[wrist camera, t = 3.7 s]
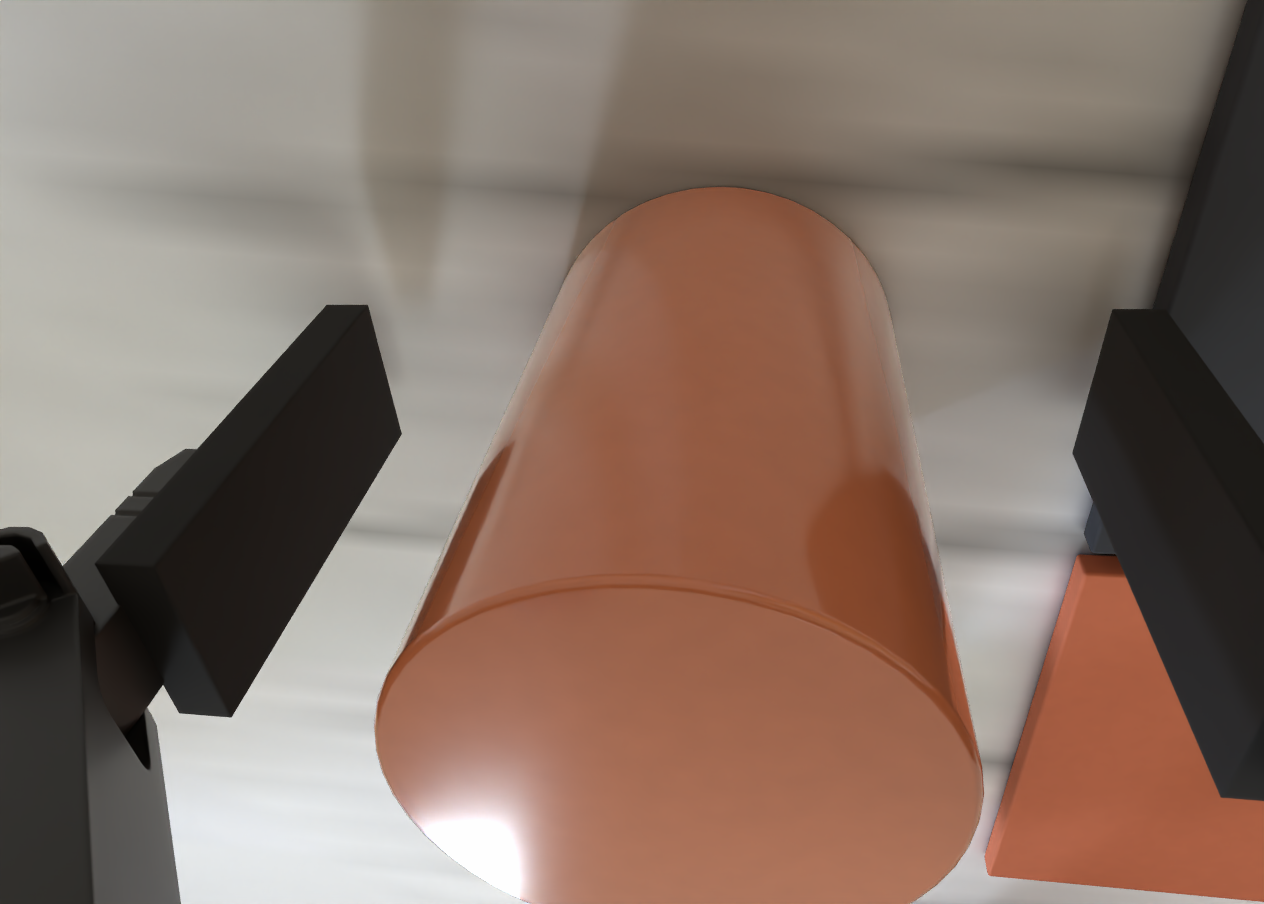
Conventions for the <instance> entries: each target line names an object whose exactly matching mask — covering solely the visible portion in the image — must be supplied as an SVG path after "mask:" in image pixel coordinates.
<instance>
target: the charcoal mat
mask: <svg viewBox="0 0 1264 904" xmlns="http://www.w3.org/2000/svg"><path fill="white" fill-rule="evenodd" d="M1153 309H1166V310H1167V312H1168V313H1169V315H1170V316H1171V317H1172V319H1173V320H1174V321H1175V323H1176V324H1177V326H1178V327H1179V328H1180V330H1181V331H1182V332H1183V334H1184V335H1185V336H1186V338H1187V339H1188V341H1189V342H1190V343H1191V345H1192V346H1193V347H1194V349H1195V350H1196V352H1197V353H1198V354H1199V356H1200V357H1201V358H1202V360H1203V361H1204V362H1205V364H1206V365H1207V367H1208V368H1209V369H1210V371H1211V372H1212V373H1213V375H1214V376H1215V378H1216V379H1217V380H1218V382H1219V383H1220V384H1221V386H1222V387H1223V389H1224V390H1225V391H1226V393H1227V394H1228V395H1229V397H1230V398H1231V399H1232V401H1233V402H1234V404H1235V405H1236V406H1237V408H1238V409H1239V410H1240V412H1241V413H1242V415H1243V416H1244V417H1245V419H1246V420H1247V421H1248V423H1249V424H1250V425H1251V427H1252V428H1253V430H1254V431H1255V432H1256V434H1257V435H1258V436H1259V438H1260V439H1261V441H1262V442H1263V443H1264V0H1248V1H1247V4H1246V7H1245V10H1244V14H1243V17H1242V20H1241V24H1240V27H1239V30H1238V33H1237V37H1236V40H1235V43H1234V46H1233V50H1232V53H1231V56H1230V59H1229V63H1228V66H1227V69H1226V72H1225V76H1224V79H1223V82H1222V85H1221V89H1220V92H1219V95H1218V98H1217V102H1216V105H1215V108H1214V111H1213V115H1212V118H1211V121H1210V124H1209V128H1208V131H1207V134H1206V137H1205V141H1204V144H1203V147H1202V150H1201V154H1200V157H1199V160H1198V163H1197V167H1196V170H1195V173H1194V176H1193V180H1192V183H1191V186H1190V189H1189V193H1188V196H1187V199H1186V202H1185V206H1184V209H1183V212H1182V216H1181V219H1180V222H1179V225H1178V229H1177V232H1176V235H1175V238H1174V242H1173V245H1172V248H1171V251H1170V255H1169V258H1168V261H1167V264H1166V268H1165V271H1164V274H1163V277H1162V281H1161V284H1160V287H1159V290H1158V294H1157V297H1156V300H1155V303H1154V307H1153ZM1084 535H1085V538H1086V540H1087V543H1088V545H1089V548H1090V550H1091V552H1093V553H1103V554H1116V553H1115V551H1114V548H1113V546H1112V544H1111V541H1110V539H1109V537H1108V534H1107V532H1106V530H1105V528H1104V525H1103V523H1102V521H1101V518H1100V516H1099V514H1098V511H1097V509H1096V507H1095V504H1094V502H1093V505H1092V508H1091V512H1090V515H1089V518H1088V521H1087V525H1086V528H1085V531H1084Z"/></svg>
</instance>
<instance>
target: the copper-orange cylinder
mask: <svg viewBox="0 0 1264 904" xmlns="http://www.w3.org/2000/svg"><path fill="white" fill-rule="evenodd" d="M374 728H375V742H376V752H377V755H378V759H379V762H380V766H381V769H382V773H383V775H384V777H385V779H386V781H387V783H388V785H389V787H390V789H391V792H392V794H393V795H394V797H395V798H396V800H397V801H398V803H399V804H400V806H401V807H402V809H403V810H404V811H405V813H406V814H407V816H408V817H409V818H410V819H411V820H412V821H413V823H414V824H415V825H416V826H417V827H418V828H419V829H420V830H421V831H422V833H423V834H424V835H425V836H426V837H427V838H428V839H430V840H431V841H432V842H433V843H434V844H435V845H436V846H437V847H438V848H440V849H441V850H442V851H443V852H444V853H445V854H446V855H448V856H449V857H451V858H452V859H453V860H455V861H456V862H457V863H459V864H460V865H461V866H463V867H464V868H465V869H467V870H468V871H470V872H471V873H473V874H475V875H476V876H478V877H480V878H481V879H483V880H484V881H486V882H488V883H489V884H491V885H493V886H494V887H496V888H498V889H500V890H502V891H504V892H506V893H508V894H510V895H512V896H514V897H516V898H518V899H520V900H522V901H524V902H527V903H529V904H910V903H912V902H914V901H916V900H917V899H918V898H920V897H921V896H922V895H924V894H925V893H927V892H928V891H929V890H931V889H932V888H933V887H935V886H936V885H937V884H938V883H939V882H940V881H941V880H942V879H943V878H944V877H945V876H946V875H947V874H948V873H949V872H950V871H951V870H952V869H953V868H954V867H955V866H956V865H957V863H958V862H959V860H960V859H961V857H962V856H963V854H964V853H965V852H966V850H967V849H968V847H969V845H970V843H971V840H972V838H973V836H974V833H975V831H976V828H977V826H978V823H979V820H980V815H981V809H982V803H983V797H984V787H983V773H982V765H981V760H980V755H979V750H978V745H977V740H976V735H975V730H974V725H973V720H972V715H971V710H970V705H969V700H968V696H967V691H966V686H965V681H964V676H963V671H962V666H961V661H960V656H959V651H958V646H957V641H956V636H955V631H954V626H953V621H952V616H951V611H950V606H949V601H948V597H947V592H946V587H945V582H944V577H943V572H942V567H941V562H940V557H939V552H938V547H937V542H936V537H935V532H934V527H933V522H932V517H931V512H930V507H929V502H928V498H927V493H926V488H925V483H924V478H923V473H922V468H921V463H920V458H919V453H918V448H917V443H916V438H915V433H914V428H913V423H912V418H911V413H910V408H909V404H908V399H907V394H906V389H905V384H904V379H903V374H902V369H901V364H900V359H899V354H898V349H897V344H896V339H895V334H894V329H893V324H892V319H891V314H890V310H889V307H888V303H887V299H886V296H885V293H884V290H883V288H882V286H881V284H880V281H879V279H878V277H877V275H876V273H875V271H874V270H873V268H872V267H871V265H870V263H869V262H868V260H867V259H866V257H865V256H864V254H863V253H862V252H861V251H860V250H859V249H858V248H857V246H856V245H855V244H854V243H853V242H852V241H851V239H850V238H849V237H847V236H846V235H845V234H844V233H843V232H842V231H840V230H839V229H838V228H837V227H836V226H835V225H833V224H832V223H831V222H829V221H828V220H826V219H825V218H823V217H822V216H820V215H819V214H817V213H815V212H814V211H812V210H810V209H808V208H806V207H804V206H802V205H800V204H798V203H796V202H793V201H791V200H789V199H786V198H783V197H779V196H776V195H773V194H770V193H767V192H762V191H756V190H750V189H745V188H732V187H708V188H695V189H689V190H684V191H679V192H675V193H670V194H667V195H664V196H661V197H658V198H655V199H652V200H650V201H647V202H645V203H643V204H641V205H639V206H637V207H635V208H633V209H631V210H629V211H627V212H625V213H624V214H622V215H621V216H620V217H618V218H617V219H615V220H614V221H612V222H611V223H609V224H608V225H607V226H606V227H605V228H604V229H602V230H601V231H600V232H599V233H598V234H597V235H596V236H595V237H594V238H593V239H592V240H591V241H590V242H589V243H588V244H587V246H586V247H585V248H584V249H583V251H582V252H581V253H580V254H579V256H578V257H577V259H576V260H575V262H574V264H573V266H572V267H571V269H570V271H569V272H568V274H567V276H566V278H565V281H564V283H563V285H562V287H561V289H560V292H559V294H558V296H557V298H556V300H555V303H554V305H553V307H552V309H551V312H550V314H549V316H548V318H547V320H546V323H545V325H544V327H543V329H542V331H541V334H540V336H539V338H538V340H537V343H536V345H535V347H534V349H533V351H532V354H531V356H530V358H529V360H528V362H527V365H526V367H525V369H524V371H523V374H522V376H521V378H520V380H519V382H518V385H517V387H516V389H515V391H514V393H513V396H512V398H511V400H510V402H509V405H508V407H507V409H506V411H505V413H504V416H503V418H502V420H501V422H500V424H499V427H498V429H497V431H496V433H495V436H494V438H493V440H492V442H491V444H490V447H489V449H488V451H487V453H486V455H485V458H484V460H483V462H482V464H481V467H480V469H479V471H478V473H477V475H476V478H475V480H474V482H473V484H472V486H471V489H470V491H469V493H468V495H467V498H466V500H465V502H464V504H463V506H462V509H461V511H460V513H459V515H458V517H457V520H456V522H455V524H454V526H453V529H452V531H451V533H450V535H449V537H448V540H447V542H446V544H445V546H444V548H443V551H442V553H441V555H440V557H439V560H438V562H437V564H436V566H435V568H434V571H433V573H432V575H431V577H430V579H429V582H428V584H427V586H426V588H425V591H424V593H423V595H422V597H421V599H420V602H419V604H418V606H417V608H416V610H415V613H414V615H413V617H412V619H411V622H410V624H409V626H408V628H407V630H406V633H405V635H404V637H403V639H402V641H401V644H400V646H399V648H398V650H397V653H396V655H395V657H394V659H393V661H392V664H391V666H390V668H389V670H388V672H387V675H386V677H385V680H384V682H383V685H382V688H381V690H380V693H379V695H378V698H377V705H376V712H375V719H374Z"/></svg>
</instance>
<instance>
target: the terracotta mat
mask: <svg viewBox="0 0 1264 904" xmlns="http://www.w3.org/2000/svg"><path fill="white" fill-rule="evenodd" d="M985 861H986V867H987V872H988V875H989V876H996V877H1007V878H1018V879H1028V880H1039V881H1049V882H1060V883H1070V884H1081V885H1092V886H1102V887H1113V888H1123V889H1134V890H1145V891H1155V892H1166V893H1176V894H1187V895H1198V896H1208V897H1219V898H1229V899H1240V900H1251V901H1261V902H1264V801H1257V800H1244V799H1232V798H1221V797H1220V795H1219V792H1218V790H1217V788H1216V785H1215V783H1214V781H1213V778H1212V776H1211V774H1210V771H1209V769H1208V767H1207V764H1206V762H1205V760H1204V757H1203V755H1202V753H1201V750H1200V748H1199V746H1198V744H1197V741H1196V739H1195V737H1194V734H1193V732H1192V730H1191V727H1190V725H1189V723H1188V720H1187V718H1186V716H1185V713H1184V711H1183V709H1182V706H1181V704H1180V702H1179V699H1178V697H1177V695H1176V692H1175V690H1174V688H1173V685H1172V683H1171V681H1170V678H1169V676H1168V674H1167V672H1166V669H1165V667H1164V665H1163V662H1162V660H1161V658H1160V655H1159V653H1158V651H1157V648H1156V646H1155V644H1154V641H1153V639H1152V637H1151V634H1150V632H1149V630H1148V627H1147V625H1146V623H1145V620H1144V618H1143V616H1142V613H1141V611H1140V609H1139V606H1138V604H1137V602H1136V600H1135V597H1134V595H1133V593H1132V590H1131V588H1130V586H1129V583H1128V581H1127V579H1126V576H1125V574H1124V572H1123V569H1122V567H1121V565H1120V562H1119V560H1118V558H1117V556H1105V555H1081V554H1080V555H1078V556H1077V557H1076V560H1075V564H1074V567H1073V570H1072V573H1071V577H1070V580H1069V583H1068V587H1067V590H1066V593H1065V596H1064V600H1063V603H1062V606H1061V609H1060V613H1059V616H1058V619H1057V622H1056V626H1055V629H1054V632H1053V635H1052V639H1051V642H1050V645H1049V648H1048V652H1047V655H1046V658H1045V661H1044V665H1043V668H1042V671H1041V674H1040V678H1039V681H1038V684H1037V687H1036V691H1035V694H1034V697H1033V700H1032V704H1031V707H1030V710H1029V713H1028V717H1027V720H1026V723H1025V726H1024V730H1023V733H1022V736H1021V739H1020V743H1019V746H1018V749H1017V752H1016V756H1015V759H1014V762H1013V765H1012V769H1011V772H1010V775H1009V779H1008V782H1007V785H1006V788H1005V792H1004V795H1003V798H1002V801H1001V805H1000V808H999V811H998V814H997V818H996V821H995V824H994V827H993V831H992V834H991V837H990V840H989V844H988V847H987V850H986V853H985Z"/></svg>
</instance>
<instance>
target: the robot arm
mask: <svg viewBox="0 0 1264 904" xmlns="http://www.w3.org/2000/svg"><path fill="white" fill-rule="evenodd" d="M401 434H402V433H401V429H400V426H399V422H398V418H397V414H396V410H395V407H394V403H393V399H392V395H391V391H390V388H389V384H388V380H387V376H386V372H385V369H384V365H383V361H382V357H381V353H380V350H379V346H378V342H377V338H376V334H375V331H374V327H373V323H372V319H371V315H370V312H369V308H368V305H326V306H325V307H324V309H323V310H322V311H321V312H320V313H319V314H318V315H317V316H316V317H315V319H314V320H313V321H312V322H311V323H310V324H309V325H308V326H307V327H306V329H305V330H304V331H303V332H302V333H301V334H300V335H299V336H298V338H297V339H296V340H295V341H294V342H293V343H292V344H291V345H290V346H289V348H288V349H287V350H286V351H285V352H284V353H283V354H282V355H281V356H280V358H279V359H278V360H277V361H276V362H275V363H274V364H273V365H272V366H271V368H270V369H269V370H268V371H267V372H266V373H265V374H264V375H263V376H262V378H261V379H260V380H259V381H258V382H257V383H256V384H255V385H254V386H253V388H252V389H251V390H250V391H249V392H248V393H247V394H246V395H245V397H244V398H243V399H242V400H241V401H240V402H239V403H238V404H237V405H236V407H235V408H234V409H233V410H232V411H231V412H230V413H229V414H228V415H227V417H226V418H225V419H224V420H223V421H222V422H221V423H220V424H219V425H218V427H217V428H216V429H215V430H214V431H213V432H212V433H211V434H210V435H209V437H208V438H207V439H206V440H205V441H204V442H203V443H202V444H201V446H200V447H199V448H198V449H185V450H183V451H181V452H180V453H178V454H177V455H175V456H174V457H172V458H170V459H169V460H167V461H166V462H164V463H163V464H161V465H159V466H158V467H156V468H155V469H154V470H153V471H152V472H151V473H150V474H149V475H148V476H147V477H146V478H145V479H144V480H143V481H142V482H141V483H140V484H139V486H138V487H137V488H136V489H135V490H134V491H133V496H128V497H127V498H126V499H125V500H124V502H123V503H122V504H121V505H120V506H119V507H118V508H117V509H116V510H115V512H116V513H115V515H110V517H109V518H108V519H107V520H106V521H105V522H104V523H103V524H102V525H101V526H100V527H99V528H98V529H97V530H96V531H95V533H94V534H93V535H92V536H91V537H90V538H89V539H88V540H87V541H86V542H85V543H84V544H83V545H82V546H81V548H80V549H79V550H78V551H77V552H76V553H75V554H74V555H73V556H72V557H71V558H70V559H69V560H68V561H67V562H66V564H65V565H64V566H62V565H61V563H60V561H59V560H58V558H57V556H56V555H55V553H54V551H53V550H52V548H51V546H50V545H49V543H48V541H47V540H46V538H45V536H44V535H43V533H42V532H40V531H37V530H35V529H32V528H30V527H8V528H4V529H0V904H181V901H180V894H179V887H178V879H177V872H176V865H175V857H174V850H173V843H172V835H171V828H170V820H169V813H168V806H167V798H166V791H165V784H164V776H163V769H162V762H161V754H160V747H159V739H158V732H157V725H156V723H155V721H154V719H153V717H152V715H151V713H150V712H149V710H148V708H147V707H148V705H149V704H150V702H151V701H152V700H153V698H154V697H155V695H156V694H157V692H158V691H159V690H160V688H161V687H162V685H164V687H165V689H166V691H167V692H168V694H169V696H170V698H171V699H172V701H173V703H174V705H175V706H176V708H177V710H178V712H179V713H183V714H195V715H207V716H220V717H232V716H233V714H234V712H235V711H236V709H237V707H238V706H239V704H240V702H241V701H242V699H243V697H244V696H245V694H246V692H247V691H248V689H249V687H250V686H251V684H252V682H253V681H254V679H255V677H256V676H257V674H258V672H259V671H260V669H261V667H262V666H263V664H264V662H265V661H266V659H267V657H268V656H269V654H270V652H271V651H272V649H273V647H274V646H275V644H276V642H277V641H278V639H279V637H280V636H281V634H282V632H283V631H284V629H285V627H286V626H287V624H288V622H289V621H290V619H291V617H292V616H293V614H294V612H295V611H296V609H297V607H298V606H299V604H300V602H301V601H302V599H303V597H304V596H305V594H306V592H307V591H308V589H309V587H310V586H311V584H312V582H313V581H314V579H315V578H316V576H317V574H318V573H319V571H320V569H321V568H322V566H323V564H324V563H325V561H326V559H327V558H328V556H329V554H330V553H331V551H332V549H333V548H334V546H335V544H336V543H337V541H338V539H339V538H340V536H341V534H342V533H343V531H344V529H345V528H346V526H347V524H348V523H349V521H350V519H351V518H352V516H353V514H354V513H355V511H356V509H357V508H358V506H359V504H360V503H361V501H362V499H363V498H364V496H365V494H366V493H367V491H368V489H369V488H370V486H371V484H372V483H373V481H374V479H375V478H376V476H377V474H378V473H379V471H380V469H381V468H382V466H383V464H384V463H385V461H386V459H387V458H388V456H389V454H390V453H391V451H392V449H393V448H394V446H395V444H396V443H397V441H398V439H399V438H400V436H401ZM1073 456H1074V458H1075V460H1076V462H1077V465H1078V467H1079V469H1080V472H1081V474H1082V476H1083V479H1084V481H1085V483H1086V486H1087V488H1088V490H1089V493H1090V495H1091V497H1092V500H1093V502H1094V504H1095V507H1096V509H1097V511H1098V514H1099V516H1100V518H1101V521H1102V523H1103V525H1104V528H1105V530H1106V532H1107V534H1108V537H1109V539H1110V541H1111V544H1112V546H1113V548H1114V551H1115V553H1116V555H1117V558H1118V560H1119V562H1120V565H1121V567H1122V569H1123V572H1124V574H1125V576H1126V579H1127V581H1128V583H1129V586H1130V588H1131V590H1132V593H1133V595H1134V597H1135V600H1136V602H1137V604H1138V606H1139V609H1140V611H1141V613H1142V616H1143V618H1144V620H1145V623H1146V625H1147V627H1148V630H1149V632H1150V634H1151V637H1152V639H1153V641H1154V644H1155V646H1156V648H1157V651H1158V653H1159V655H1160V658H1161V660H1162V662H1163V665H1164V667H1165V669H1166V672H1167V674H1168V676H1169V678H1170V681H1171V683H1172V685H1173V688H1174V690H1175V692H1176V695H1177V697H1178V699H1179V702H1180V704H1181V706H1182V709H1183V711H1184V713H1185V716H1186V718H1187V720H1188V723H1189V725H1190V727H1191V730H1192V732H1193V734H1194V737H1195V739H1196V741H1197V744H1198V746H1199V748H1200V750H1201V753H1202V755H1203V757H1204V760H1205V762H1206V764H1207V767H1208V769H1209V771H1210V774H1211V776H1212V778H1213V781H1214V783H1215V785H1216V788H1217V790H1218V792H1219V795H1220V797H1221V798H1232V799H1244V800H1257V801H1264V443H1263V442H1262V441H1261V439H1260V438H1259V436H1258V435H1257V434H1256V432H1255V431H1254V430H1253V428H1252V427H1251V425H1250V424H1249V423H1248V421H1247V420H1246V419H1245V417H1244V416H1243V415H1242V413H1241V412H1240V410H1239V409H1238V408H1237V406H1236V405H1235V404H1234V402H1233V401H1232V399H1231V398H1230V397H1229V395H1228V394H1227V393H1226V391H1225V390H1224V389H1223V387H1222V386H1221V384H1220V383H1219V382H1218V380H1217V379H1216V378H1215V376H1214V375H1213V373H1212V372H1211V371H1210V369H1209V368H1208V367H1207V365H1206V364H1205V362H1204V361H1203V360H1202V358H1201V357H1200V356H1199V354H1198V353H1197V352H1196V350H1195V349H1194V347H1193V346H1192V345H1191V343H1190V342H1189V341H1188V339H1187V338H1186V336H1185V335H1184V334H1183V332H1182V331H1181V330H1180V328H1179V327H1178V326H1177V324H1176V323H1175V321H1174V320H1173V319H1172V317H1171V316H1170V315H1169V313H1168V312H1167V310H1166V309H1112V313H1111V316H1110V320H1109V323H1108V327H1107V331H1106V334H1105V338H1104V341H1103V345H1102V349H1101V352H1100V356H1099V359H1098V363H1097V366H1096V370H1095V374H1094V377H1093V381H1092V384H1091V388H1090V392H1089V395H1088V399H1087V402H1086V406H1085V410H1084V413H1083V417H1082V420H1081V424H1080V428H1079V431H1078V435H1077V438H1076V442H1075V446H1074V449H1073Z"/></svg>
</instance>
